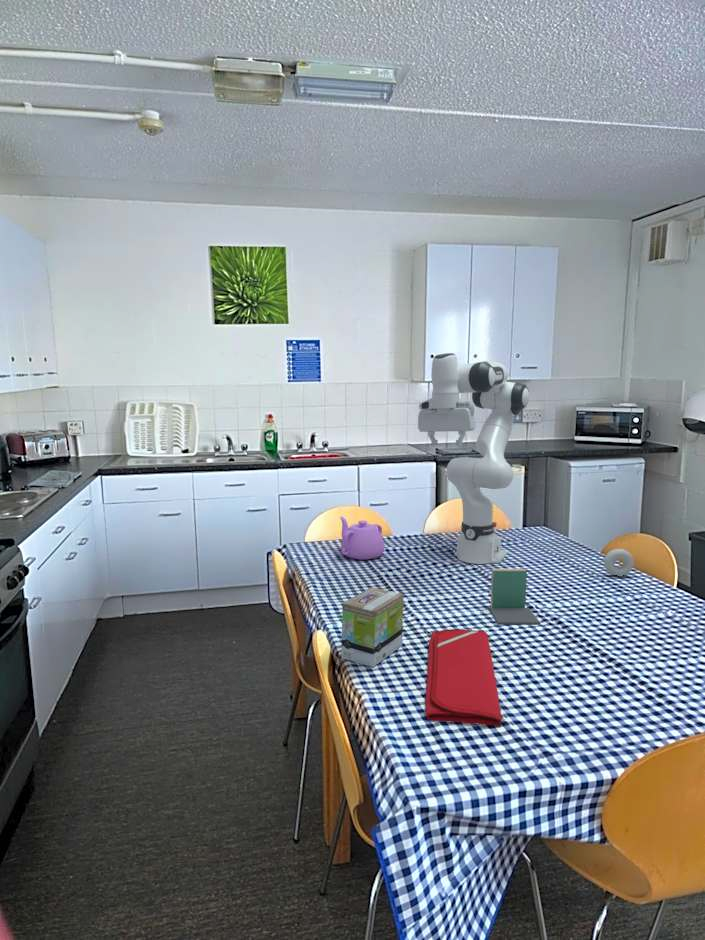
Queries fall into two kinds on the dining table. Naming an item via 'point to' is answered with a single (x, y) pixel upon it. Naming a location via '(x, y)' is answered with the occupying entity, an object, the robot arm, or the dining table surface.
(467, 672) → the dish drying mat
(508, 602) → the tile
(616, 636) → the dining table surface
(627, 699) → the dining table surface
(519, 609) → the mat
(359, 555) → the teapot
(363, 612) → the tea box
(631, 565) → the donut
